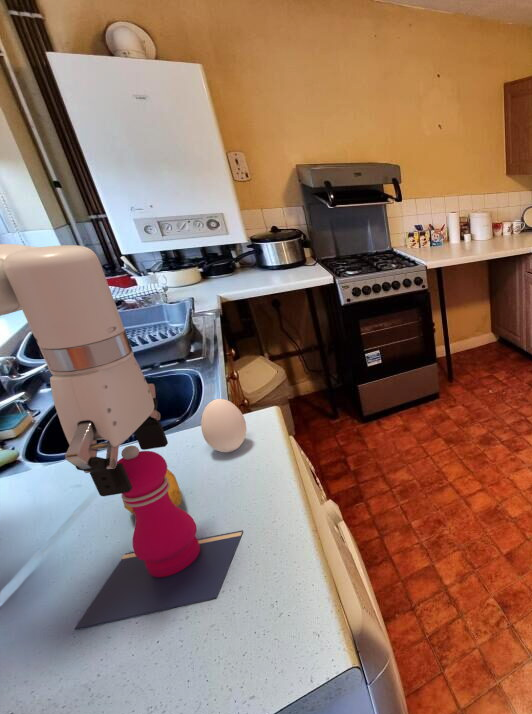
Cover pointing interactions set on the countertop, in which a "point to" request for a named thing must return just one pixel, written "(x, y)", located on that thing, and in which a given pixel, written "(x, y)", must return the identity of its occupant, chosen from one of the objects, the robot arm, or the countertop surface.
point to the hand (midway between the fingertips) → (137, 468)
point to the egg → (223, 425)
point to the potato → (173, 491)
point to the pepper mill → (157, 516)
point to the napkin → (162, 584)
